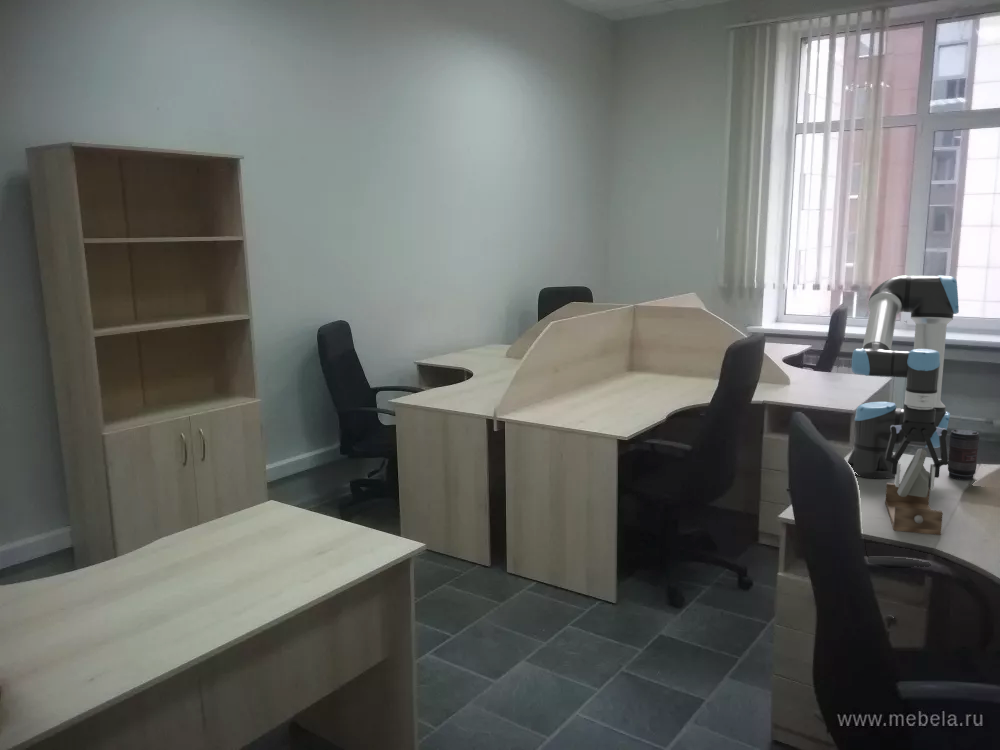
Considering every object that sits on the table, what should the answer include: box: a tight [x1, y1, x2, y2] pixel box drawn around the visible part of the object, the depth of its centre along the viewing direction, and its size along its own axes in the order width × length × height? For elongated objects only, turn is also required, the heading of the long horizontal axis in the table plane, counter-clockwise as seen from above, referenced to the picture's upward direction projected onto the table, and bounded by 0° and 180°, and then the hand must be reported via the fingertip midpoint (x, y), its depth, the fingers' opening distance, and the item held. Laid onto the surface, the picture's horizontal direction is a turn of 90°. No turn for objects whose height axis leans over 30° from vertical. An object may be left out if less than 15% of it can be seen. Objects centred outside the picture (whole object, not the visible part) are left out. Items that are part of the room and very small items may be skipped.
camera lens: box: [947, 428, 980, 481], centre depth 245 cm, size 8×8×15 cm
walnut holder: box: [884, 482, 944, 536], centre depth 212 cm, size 11×24×6 cm, turn 159°
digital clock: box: [897, 447, 930, 497], centre depth 211 cm, size 16×9×11 cm, turn 136°
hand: (913, 486), depth 211 cm, fingers closed on digital clock, 8 cm apart
